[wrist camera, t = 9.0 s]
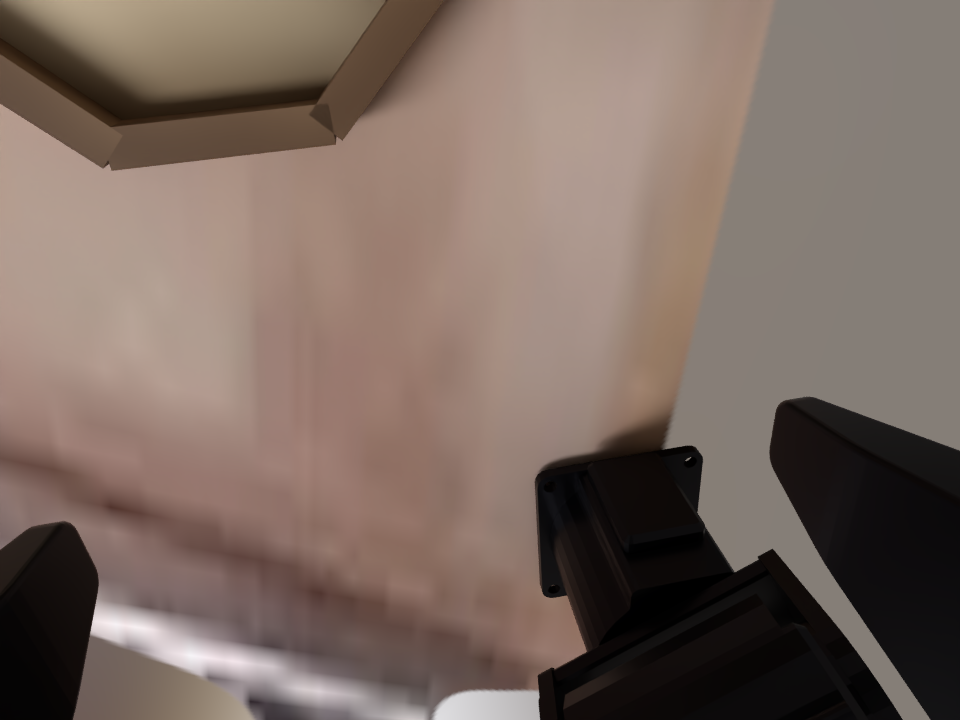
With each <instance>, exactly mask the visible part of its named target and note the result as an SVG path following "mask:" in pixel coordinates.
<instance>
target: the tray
mask: <svg viewBox="0 0 960 720" xmlns="http://www.w3.org/2000/svg"><path fill="white" fill-rule="evenodd" d="M443 1H444V0H0V104H2V105H3V106H5V107H7V108H8V109H10V110H11V111H13V112H15V113H16V114H18V115H19V116H21V117H22V118H24V119H26V120H27V121H29V122H30V123H32V124H33V125H35V126H37V127H38V128H40V129H41V130H43V131H45V132H46V133H48V134H49V135H51V136H52V137H54V138H56V139H57V140H59V141H60V142H62V143H64V144H65V145H67V146H68V147H70V148H71V149H73V150H75V151H76V152H78V153H79V154H81V155H82V156H84V157H86V158H87V159H89V160H90V161H92V162H94V163H95V164H97V165H98V166H100V167H101V168H104V167H105V166H107V165H108V164H110V167H111V170H112V171H113V170H122V169H130V168H139V167H147V166H156V165H165V164H173V163H182V162H190V161H199V160H207V159H216V158H225V157H233V156H242V155H250V154H259V153H267V152H276V151H285V150H293V149H302V148H310V147H319V146H327V145H336V136H337V137H338V138H340V139H341V140H342V141H343V139H344V138H345V136H346V135H347V134H348V132H349V131H350V130H351V128H352V127H353V125H354V124H355V123H356V121H357V120H358V118H359V117H360V116H361V114H362V113H363V112H364V110H365V109H366V107H367V106H368V105H369V103H370V102H371V100H372V99H373V98H374V96H375V95H376V94H377V92H378V91H379V89H380V88H381V87H382V85H383V84H384V82H385V81H386V80H387V78H388V77H389V76H390V74H391V73H392V71H393V70H394V69H395V67H396V66H397V64H398V63H399V62H400V60H401V59H402V58H403V56H404V55H405V53H406V52H407V51H408V49H409V48H410V46H411V45H412V44H413V42H414V41H415V40H416V38H417V37H418V35H419V34H420V33H421V31H422V30H423V28H424V27H425V26H426V24H427V23H428V22H429V20H430V19H431V17H432V16H433V15H434V13H435V12H436V10H437V9H438V8H439V6H440V5H441V4H442V2H443Z"/></svg>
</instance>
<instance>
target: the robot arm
mask: <svg viewBox="0 0 960 720" xmlns="http://www.w3.org/2000/svg"><path fill="white" fill-rule="evenodd" d="M690 457H691V458H690ZM687 458H690V459H689V460H688V461H685V460H686V459H687ZM770 461H771V464H772V467H773V469H774V471H775V473H776V475H777V477H778V479H779V481H780V483H781V484H782V486H783V488H784V490H785V492H786V494H787V495H788V497H789V499H790V501H791V503H792V505H793V507H794V509H795V510H796V512H797V514H798V516H799V518H800V520H801V522H802V523H803V525H804V527H805V529H806V531H807V533H808V535H809V536H810V538H811V540H812V542H813V544H814V546H815V548H816V549H817V551H818V553H819V555H820V556H821V558H822V560H823V561H824V563H825V565H826V566H827V568H828V569H829V571H830V572H831V574H832V576H833V577H834V579H835V580H836V582H837V583H838V584H839V586H840V587H841V589H842V590H843V592H844V593H845V595H846V596H847V598H848V599H849V601H850V602H851V603H852V605H853V607H854V608H855V610H856V611H857V612H858V614H859V615H860V617H861V618H862V620H863V621H864V623H865V624H866V626H867V627H868V628H869V630H870V631H871V633H872V634H873V636H874V637H875V639H876V640H877V642H878V643H879V645H880V646H881V648H882V649H883V650H884V652H885V653H886V655H887V656H888V658H889V659H890V661H891V662H892V664H893V665H894V666H895V668H896V669H897V671H898V672H899V674H900V675H901V677H902V678H903V680H904V681H905V683H906V684H907V686H908V687H909V689H910V690H911V692H912V693H913V694H914V696H915V697H916V699H917V700H918V702H919V703H920V705H921V706H922V708H923V709H924V711H925V712H926V713H927V715H928V716H929V718H930V719H931V720H960V451H959V450H956V449H954V448H951V447H948V446H945V445H943V444H940V443H937V442H935V441H932V440H929V439H926V438H924V437H921V436H918V435H915V434H912V433H910V432H907V431H904V430H902V429H899V428H896V427H894V426H891V425H888V424H885V423H882V422H880V421H877V420H874V419H871V418H869V417H866V416H863V415H860V414H858V413H855V412H852V411H850V410H847V409H844V408H841V407H839V406H836V405H833V404H831V403H828V402H825V401H822V400H820V399H817V398H814V397H803V398H797V399H791V400H785V401H783V402H781V403H780V404H779V405H778V407H777V409H776V413H775V419H774V425H773V431H772V438H771V443H770ZM702 463H703V458H702V455H701V454H700V453H699V451H698V450H697V449H696V447H693V446H682V447H677V448H671V449H665V450H659V451H653V452H647V453H641V454H635V455H630V456H624V457H618V458H612V459H606V460H600V461H595V462H589V463H583V464H577V465H571V466H565V467H560V468H554V469H548V470H545V471H542V472H541V473H539V474H538V475H537V477H536V479H535V495H536V515H537V534H538V554H539V574H540V586H541V589H542V592H543V595H545V596H546V597H549V598H555V597H560V596H566V595H567V596H568V599H569V602H570V605H571V607H572V610H573V613H574V616H575V619H576V622H577V624H578V627H579V630H580V633H581V636H582V639H583V641H584V644H585V647H586V650H587V652H586V653H584V654H582V655H580V656H579V657H577V658H575V659H573V660H571V661H569V662H567V663H566V664H564V665H562V666H560V667H558V668H556V669H554V668H550V669H548V670H546V671H544V672H543V673H541V674H539V675H538V685H539V696H540V698H539V712H540V720H902V718H901V716H900V715H899V713H898V712H897V710H896V708H895V707H894V705H893V704H892V702H891V701H890V699H889V698H888V696H887V695H886V693H885V692H884V690H883V689H882V687H881V686H880V684H879V683H878V681H877V680H876V678H875V677H874V675H873V674H872V673H871V671H870V670H869V668H868V667H867V665H866V664H865V663H864V661H863V660H862V658H861V657H860V656H859V654H858V653H857V651H856V650H855V649H854V647H853V646H852V645H851V644H850V642H849V641H848V639H847V638H846V637H845V636H844V634H843V633H842V632H841V630H840V629H839V628H838V627H837V626H836V624H835V623H834V622H833V621H832V619H831V618H830V617H829V616H828V615H827V613H826V612H825V611H824V610H823V609H822V607H821V606H820V605H819V604H818V603H817V601H816V600H815V599H814V598H813V597H812V595H811V594H810V593H809V592H808V591H807V590H806V588H805V587H804V586H803V585H802V583H801V582H800V581H799V580H798V579H797V577H796V576H795V575H794V574H793V573H792V571H791V570H790V569H789V568H788V567H787V565H786V564H785V563H784V562H783V561H782V559H781V558H780V557H779V556H778V555H777V553H776V552H775V551H774V550H773V549H771V550H769V551H768V552H766V553H764V554H762V555H760V556H758V559H759V560H757V561H755V562H753V563H752V564H750V565H748V566H746V567H744V568H742V569H740V570H739V571H737V572H734V570H733V569H732V567H731V566H730V564H729V563H728V561H727V560H726V558H725V557H724V555H723V553H722V552H721V551H720V549H719V547H718V546H717V544H716V543H715V541H714V540H713V538H712V537H711V535H710V534H709V532H708V531H707V529H706V528H705V524H704V522H703V521H702V519H701V518H700V516H699V515H698V513H697V511H698V502H699V492H700V482H701V472H702ZM550 481H554V482H553V483H552V484H550V485H545V484H546V483H547V482H550ZM552 585H554V586H552ZM98 587H99V580H98V573H97V570H96V567H95V565H94V563H93V561H92V559H91V557H90V555H89V553H88V551H87V549H86V547H85V545H84V543H83V541H82V539H81V537H80V535H79V533H78V531H77V530H76V528H75V527H74V526H73V525H72V524H71V523H69V522H65V521H61V522H55V523H49V524H43V525H37V526H33V527H31V528H29V529H27V530H26V531H24V532H23V533H22V534H20V535H19V536H18V537H17V538H15V539H14V540H13V541H11V542H10V543H9V544H7V545H6V546H5V547H3V548H2V549H1V550H0V720H73V716H74V713H75V709H76V704H77V700H78V695H79V691H80V685H81V680H82V675H83V669H84V664H85V658H86V653H87V648H88V642H89V637H90V631H91V626H92V621H93V615H94V610H95V604H96V599H97V594H98Z"/></svg>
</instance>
